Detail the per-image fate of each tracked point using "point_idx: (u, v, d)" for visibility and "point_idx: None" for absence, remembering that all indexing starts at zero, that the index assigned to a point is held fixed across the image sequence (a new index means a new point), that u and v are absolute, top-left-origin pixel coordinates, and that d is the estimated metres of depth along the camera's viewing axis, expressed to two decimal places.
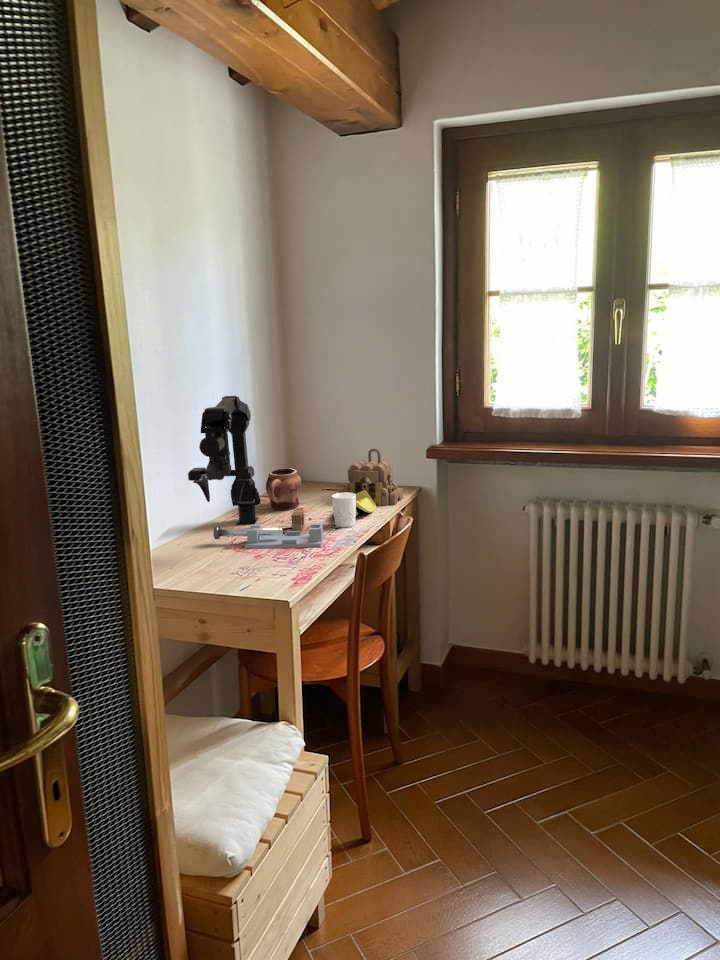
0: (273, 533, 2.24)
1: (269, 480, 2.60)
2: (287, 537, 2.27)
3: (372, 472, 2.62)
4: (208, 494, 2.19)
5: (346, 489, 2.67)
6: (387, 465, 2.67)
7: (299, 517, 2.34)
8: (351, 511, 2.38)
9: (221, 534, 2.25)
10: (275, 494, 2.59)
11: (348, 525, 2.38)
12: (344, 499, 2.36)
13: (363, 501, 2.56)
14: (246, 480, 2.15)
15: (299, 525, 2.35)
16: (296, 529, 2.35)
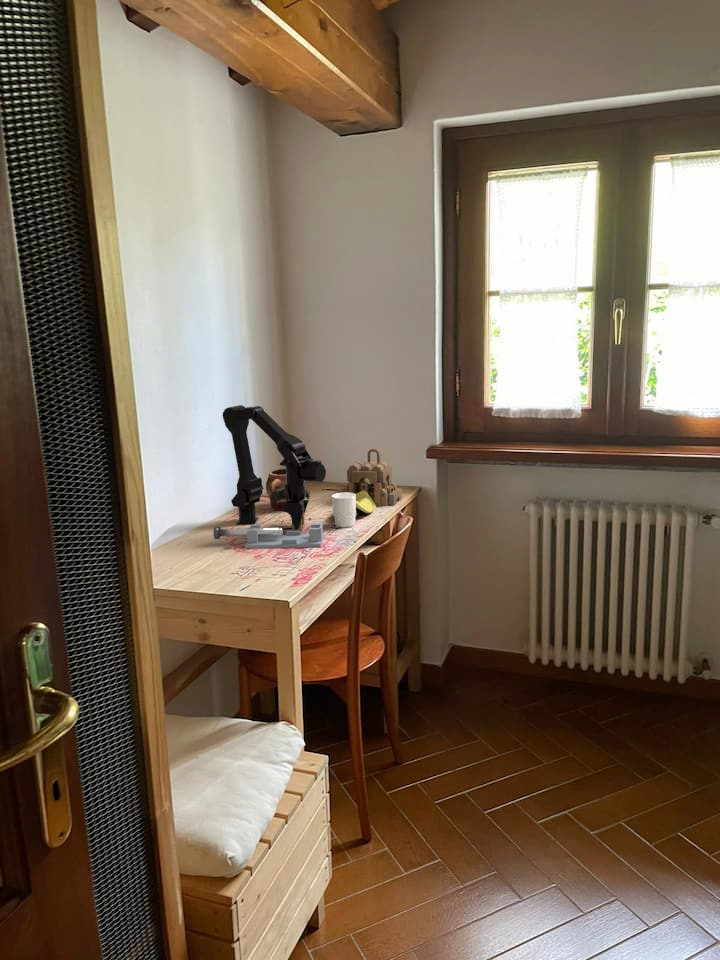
0: (273, 533, 2.24)
1: (269, 480, 2.60)
2: (287, 537, 2.27)
3: (371, 472, 2.61)
4: None
5: (345, 489, 2.67)
6: (386, 465, 2.66)
7: None
8: (351, 511, 2.38)
9: (221, 534, 2.25)
10: None
11: (348, 525, 2.38)
12: (344, 499, 2.36)
13: (363, 501, 2.55)
14: (285, 511, 2.31)
15: None
16: (296, 529, 2.35)
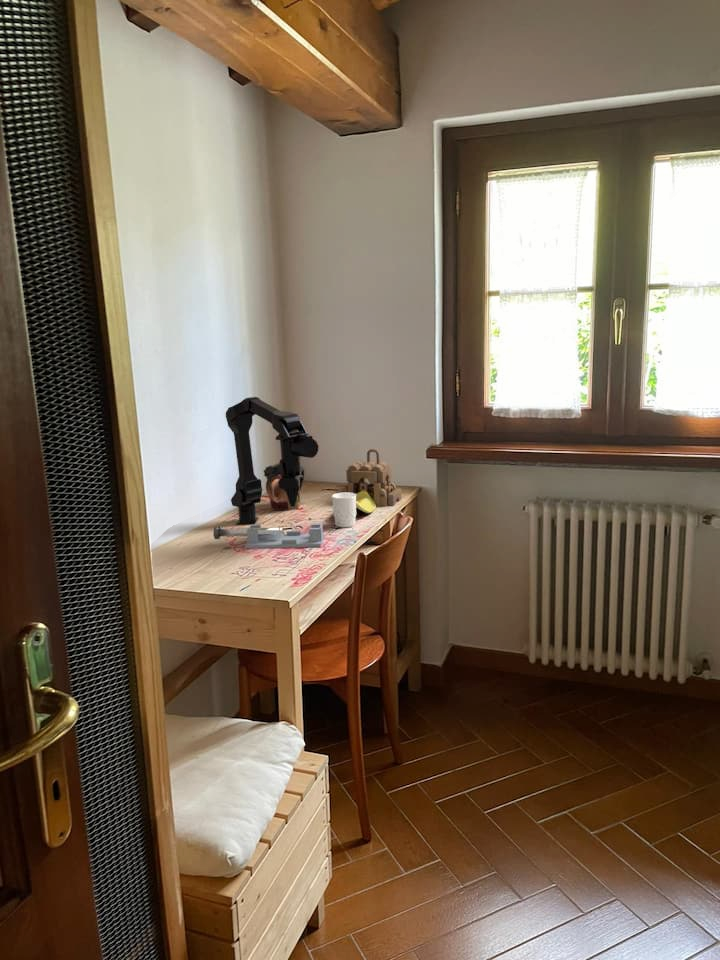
0: (273, 533, 2.24)
1: (269, 480, 2.60)
2: (287, 537, 2.27)
3: (370, 473, 2.61)
4: None
5: (344, 490, 2.66)
6: (386, 466, 2.66)
7: None
8: (351, 511, 2.38)
9: (221, 534, 2.25)
10: (275, 494, 2.59)
11: (348, 525, 2.38)
12: (344, 499, 2.36)
13: (363, 501, 2.55)
14: (281, 487, 2.22)
15: (295, 502, 2.26)
16: (292, 506, 2.27)
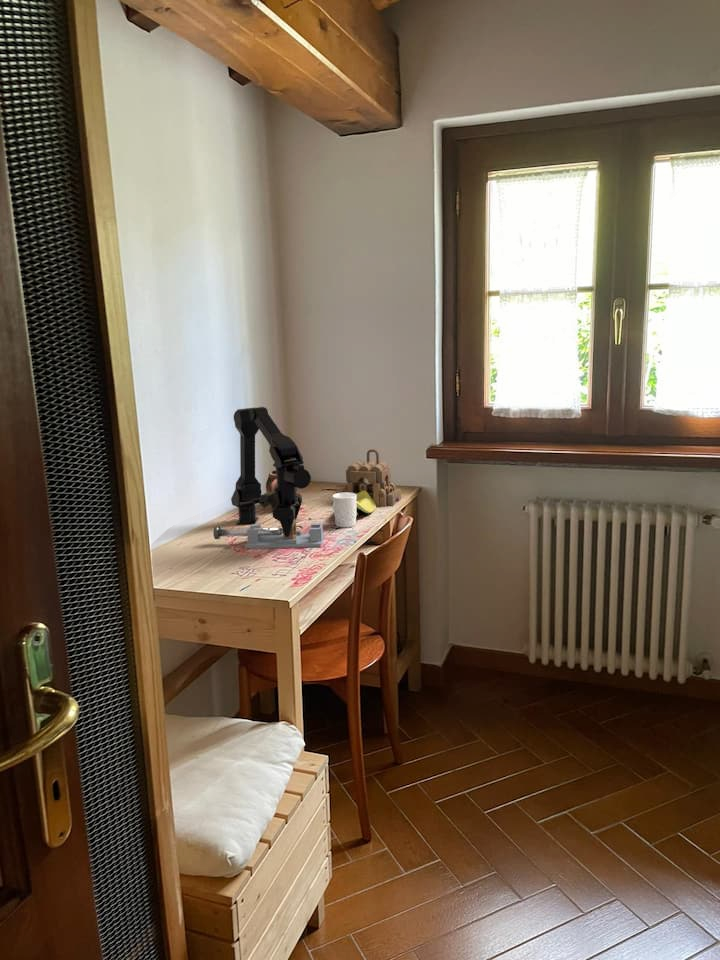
0: (273, 533, 2.24)
1: (269, 480, 2.60)
2: None
3: (370, 473, 2.61)
4: None
5: (344, 490, 2.66)
6: (385, 466, 2.66)
7: None
8: (350, 511, 2.37)
9: (221, 534, 2.25)
10: None
11: (347, 525, 2.38)
12: (343, 499, 2.36)
13: (363, 501, 2.55)
14: (275, 518, 2.15)
15: (291, 535, 2.21)
16: None
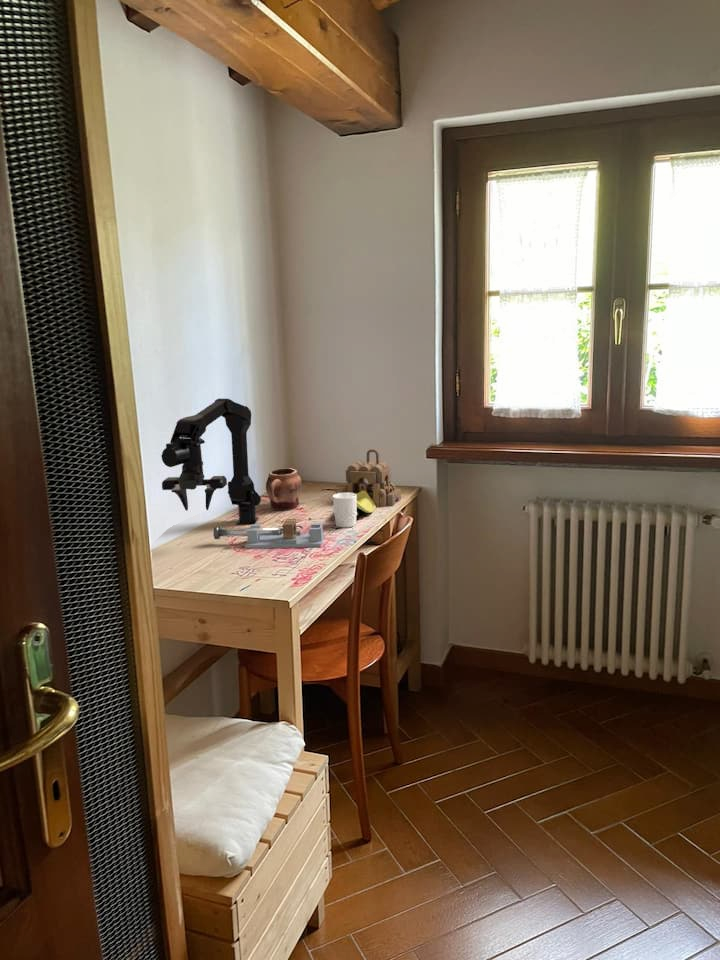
0: (273, 533, 2.24)
1: (269, 480, 2.60)
2: None
3: (370, 473, 2.61)
4: (186, 503, 2.25)
5: (344, 490, 2.66)
6: (385, 466, 2.66)
7: (291, 527, 2.21)
8: (350, 511, 2.37)
9: (221, 534, 2.25)
10: (275, 494, 2.59)
11: (347, 525, 2.38)
12: (343, 499, 2.35)
13: (363, 501, 2.55)
14: (214, 489, 2.20)
15: (291, 535, 2.21)
16: None
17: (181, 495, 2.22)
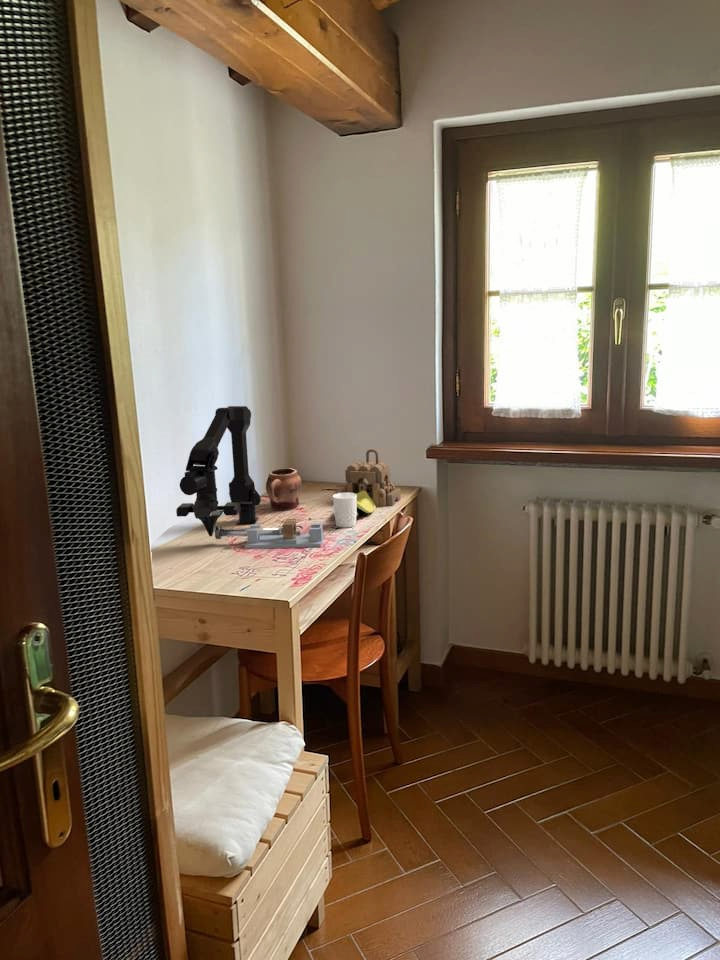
0: (274, 533, 2.24)
1: (269, 480, 2.60)
2: None
3: (369, 473, 2.61)
4: None
5: (343, 490, 2.66)
6: (385, 466, 2.66)
7: (291, 527, 2.21)
8: (350, 511, 2.37)
9: (222, 534, 2.25)
10: (275, 494, 2.59)
11: (347, 525, 2.38)
12: (343, 499, 2.35)
13: (363, 501, 2.55)
14: (218, 516, 2.22)
15: (291, 535, 2.21)
16: None
17: (205, 521, 2.24)
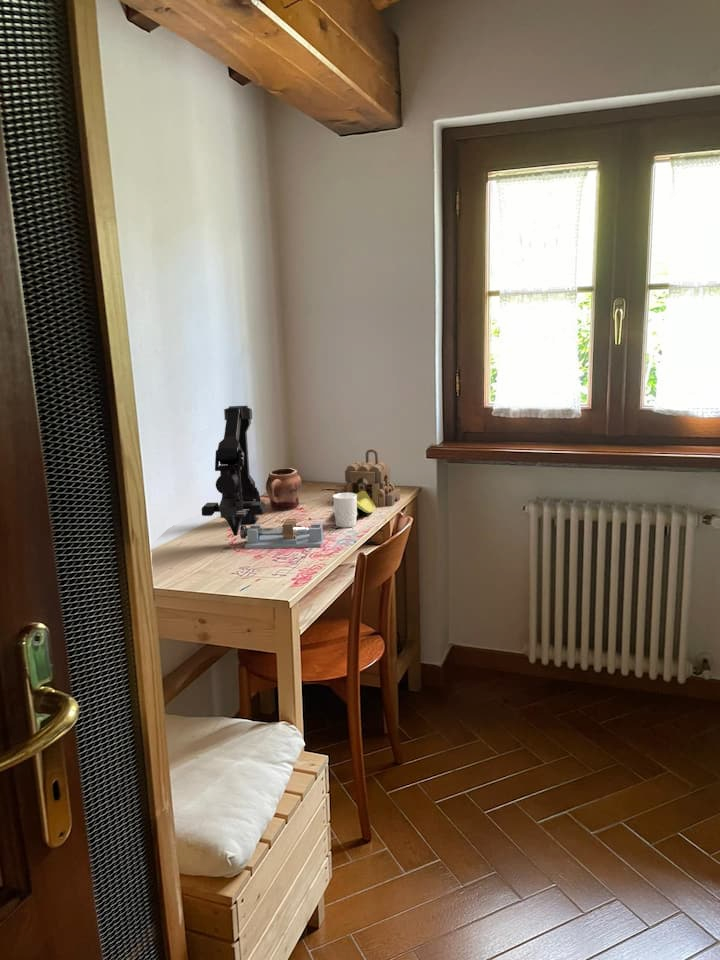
0: (300, 532, 2.23)
1: (269, 480, 2.60)
2: None
3: (369, 473, 2.61)
4: None
5: (343, 490, 2.66)
6: (384, 466, 2.66)
7: (291, 527, 2.21)
8: (350, 512, 2.37)
9: None
10: (275, 494, 2.59)
11: (347, 525, 2.38)
12: (343, 499, 2.35)
13: (363, 501, 2.55)
14: (243, 516, 2.22)
15: (291, 535, 2.21)
16: None
17: (230, 520, 2.23)
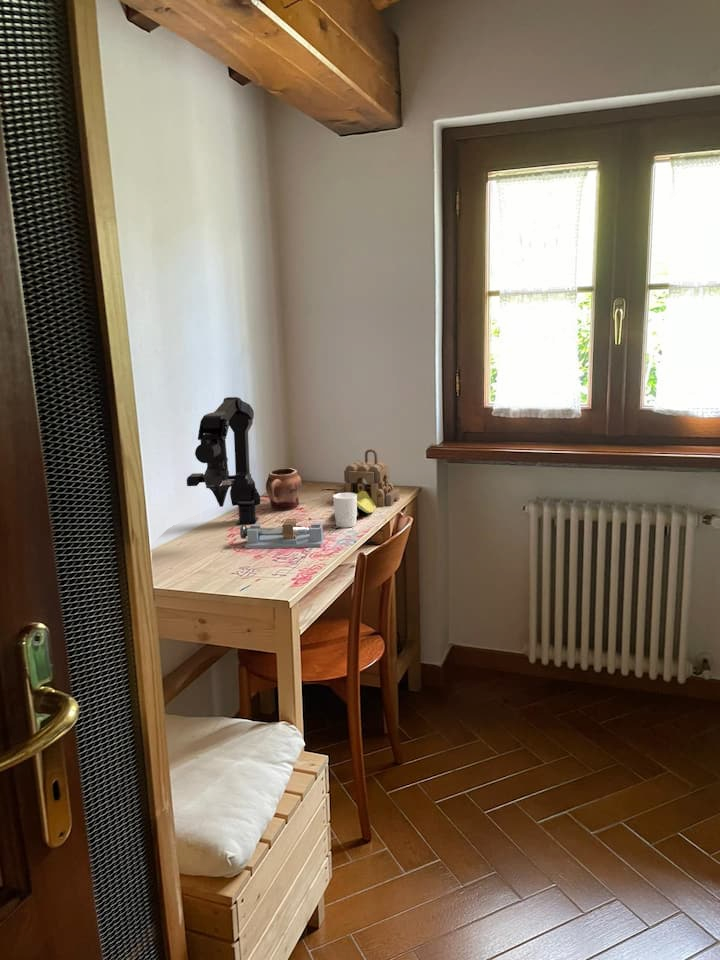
0: (300, 532, 2.23)
1: (269, 480, 2.60)
2: None
3: (368, 473, 2.61)
4: (220, 499, 2.24)
5: (342, 490, 2.66)
6: (383, 466, 2.66)
7: (291, 527, 2.21)
8: (350, 512, 2.37)
9: None
10: (275, 494, 2.59)
11: (347, 525, 2.38)
12: (343, 499, 2.35)
13: (363, 501, 2.55)
14: (229, 486, 2.20)
15: (291, 535, 2.21)
16: None
17: (215, 491, 2.21)
